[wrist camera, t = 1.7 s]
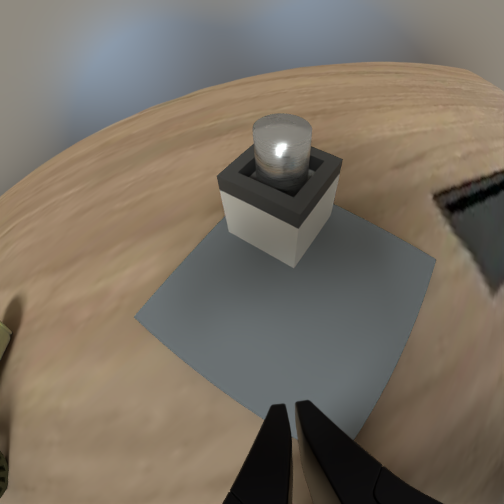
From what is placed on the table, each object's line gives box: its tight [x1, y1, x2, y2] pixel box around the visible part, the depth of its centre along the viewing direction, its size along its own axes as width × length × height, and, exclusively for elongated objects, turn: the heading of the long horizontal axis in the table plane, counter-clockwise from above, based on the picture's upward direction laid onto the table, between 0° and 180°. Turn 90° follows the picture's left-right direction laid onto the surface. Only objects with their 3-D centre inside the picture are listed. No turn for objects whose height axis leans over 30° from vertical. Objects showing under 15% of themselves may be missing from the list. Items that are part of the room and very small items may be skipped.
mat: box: [134, 204, 436, 440], centre depth 23 cm, size 20×20×1 cm
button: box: [253, 114, 312, 197], centre depth 20 cm, size 4×4×6 cm
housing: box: [217, 144, 343, 268], centre depth 24 cm, size 7×7×7 cm
